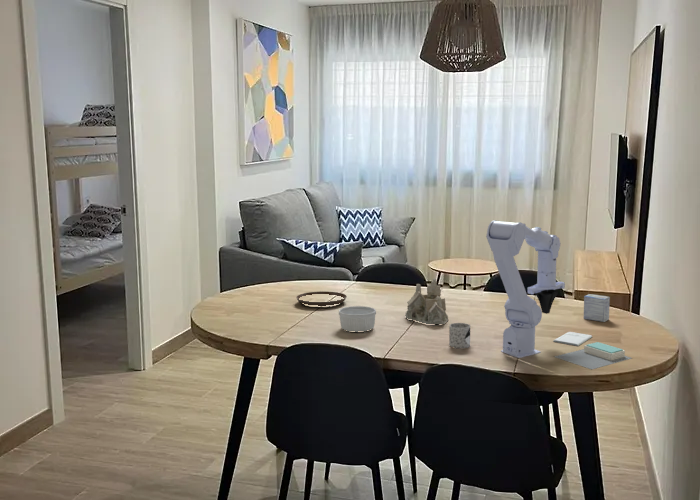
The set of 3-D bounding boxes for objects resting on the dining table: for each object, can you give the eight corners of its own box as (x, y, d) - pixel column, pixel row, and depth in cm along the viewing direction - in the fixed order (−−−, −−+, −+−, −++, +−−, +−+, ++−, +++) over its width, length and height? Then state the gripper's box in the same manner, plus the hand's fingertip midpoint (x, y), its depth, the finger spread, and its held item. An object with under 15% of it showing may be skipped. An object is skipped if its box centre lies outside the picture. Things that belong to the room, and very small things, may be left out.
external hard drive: (553, 344, 222) (568, 335, 231) (578, 349, 216) (592, 339, 226) (553, 339, 221) (568, 331, 231) (578, 344, 216) (592, 334, 226)
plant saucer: (317, 296, 295) (317, 288, 294) (356, 301, 283) (356, 294, 282) (286, 305, 278) (285, 298, 278) (326, 312, 266) (326, 304, 266)
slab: (611, 353, 202) (624, 349, 205) (584, 344, 210) (597, 341, 213) (611, 360, 202) (624, 356, 205) (584, 351, 210) (597, 348, 213)
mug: (470, 349, 217) (470, 328, 216) (448, 348, 218) (449, 328, 217) (470, 339, 227) (470, 320, 225) (449, 339, 228) (450, 319, 227)
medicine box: (609, 320, 247) (610, 296, 246) (604, 322, 244) (605, 299, 243) (588, 316, 253) (589, 293, 251) (583, 318, 250) (583, 295, 248)
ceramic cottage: (406, 313, 262) (407, 275, 258) (449, 316, 259) (451, 278, 255) (401, 326, 247) (402, 286, 243) (447, 330, 244) (448, 289, 240)
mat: (591, 370, 195) (591, 369, 195) (553, 357, 207) (553, 356, 206) (632, 359, 204) (632, 358, 204) (593, 347, 216) (593, 346, 216)
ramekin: (357, 322, 251) (357, 303, 250) (384, 328, 242) (383, 309, 241) (331, 329, 242) (330, 310, 241) (357, 336, 233) (357, 316, 232)
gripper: (539, 276, 211) (538, 319, 213) (572, 270, 218) (571, 311, 220) (523, 272, 217) (522, 314, 219) (555, 267, 224) (554, 307, 226)
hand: (545, 312), depth 220 cm, fingers closed
